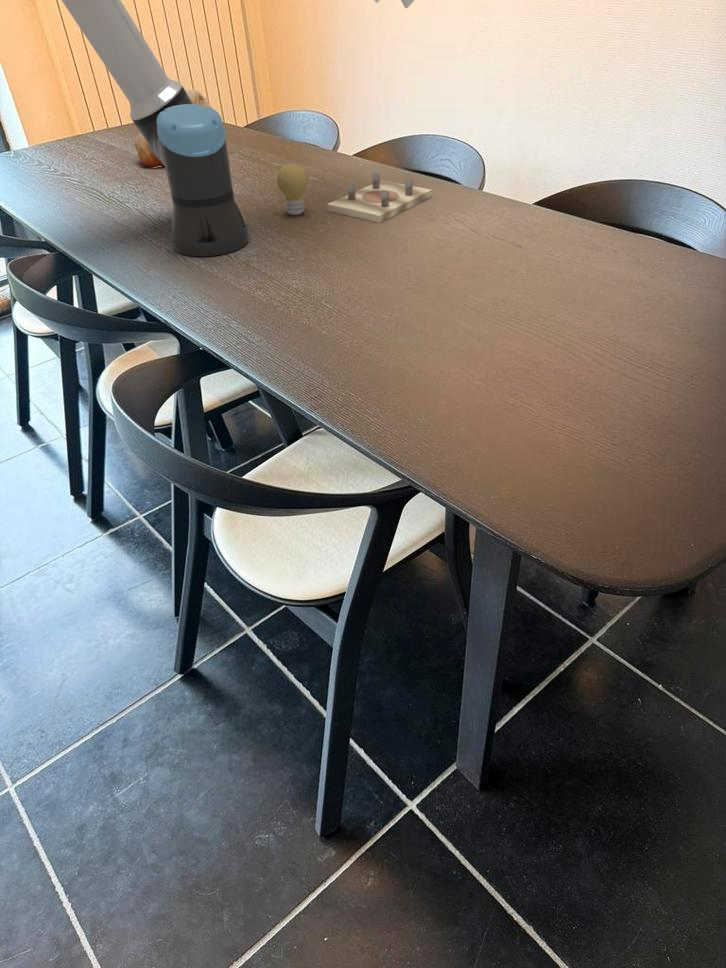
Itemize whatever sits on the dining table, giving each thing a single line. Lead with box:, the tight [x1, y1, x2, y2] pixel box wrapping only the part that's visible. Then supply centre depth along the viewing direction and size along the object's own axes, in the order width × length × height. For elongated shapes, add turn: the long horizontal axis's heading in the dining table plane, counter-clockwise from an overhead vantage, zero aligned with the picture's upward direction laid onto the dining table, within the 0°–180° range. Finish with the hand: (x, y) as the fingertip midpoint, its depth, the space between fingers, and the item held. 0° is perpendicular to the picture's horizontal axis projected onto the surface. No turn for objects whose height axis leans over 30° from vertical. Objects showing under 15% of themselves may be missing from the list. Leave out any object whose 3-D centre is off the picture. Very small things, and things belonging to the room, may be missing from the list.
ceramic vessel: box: [134, 88, 213, 167], centre depth 179 cm, size 14×26×15 cm, turn 148°
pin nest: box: [326, 172, 433, 224], centre depth 147 cm, size 20×14×4 cm
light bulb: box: [276, 163, 309, 216], centre depth 142 cm, size 6×6×10 cm
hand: (395, 0), depth 134 cm, fingers open, 13 cm apart
